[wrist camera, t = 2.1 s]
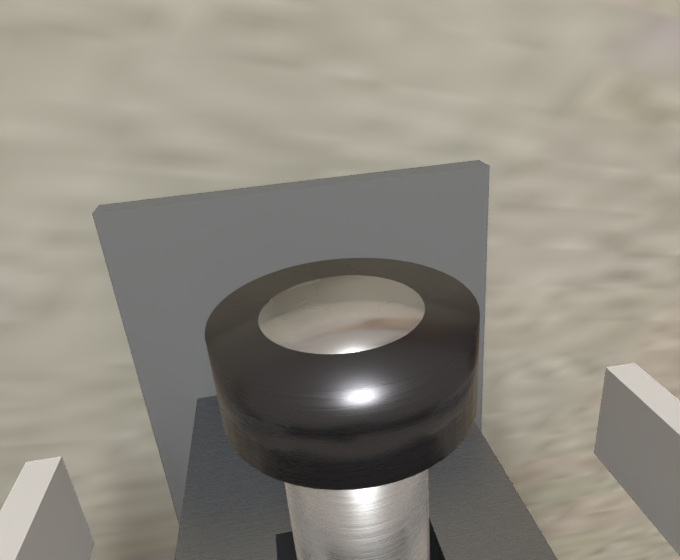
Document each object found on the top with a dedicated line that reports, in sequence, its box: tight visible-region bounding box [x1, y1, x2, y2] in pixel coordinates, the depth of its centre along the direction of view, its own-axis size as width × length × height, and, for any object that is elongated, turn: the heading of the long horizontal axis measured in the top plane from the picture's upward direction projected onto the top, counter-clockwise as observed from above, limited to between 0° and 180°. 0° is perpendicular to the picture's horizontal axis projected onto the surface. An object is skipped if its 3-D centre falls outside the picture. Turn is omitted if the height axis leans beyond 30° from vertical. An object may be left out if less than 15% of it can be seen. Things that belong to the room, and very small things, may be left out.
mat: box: [92, 160, 489, 525], centre depth 25 cm, size 14×24×1 cm, turn 5°
